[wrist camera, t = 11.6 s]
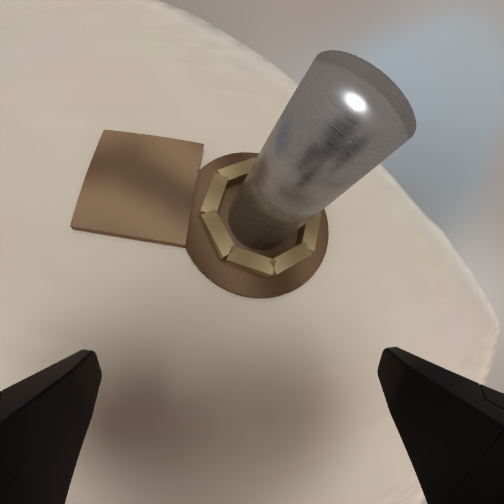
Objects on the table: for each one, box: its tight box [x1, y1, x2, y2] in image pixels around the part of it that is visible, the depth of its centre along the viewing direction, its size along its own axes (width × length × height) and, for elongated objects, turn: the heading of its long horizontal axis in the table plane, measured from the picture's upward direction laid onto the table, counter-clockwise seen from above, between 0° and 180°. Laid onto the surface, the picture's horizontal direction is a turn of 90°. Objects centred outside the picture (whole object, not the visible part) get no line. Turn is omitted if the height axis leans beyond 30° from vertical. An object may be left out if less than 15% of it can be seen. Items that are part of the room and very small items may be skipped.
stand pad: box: [70, 130, 204, 247], centre depth 19 cm, size 8×8×1 cm
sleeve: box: [228, 50, 416, 250], centre depth 15 cm, size 4×4×13 cm
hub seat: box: [185, 153, 328, 298], centre depth 20 cm, size 11×11×2 cm
